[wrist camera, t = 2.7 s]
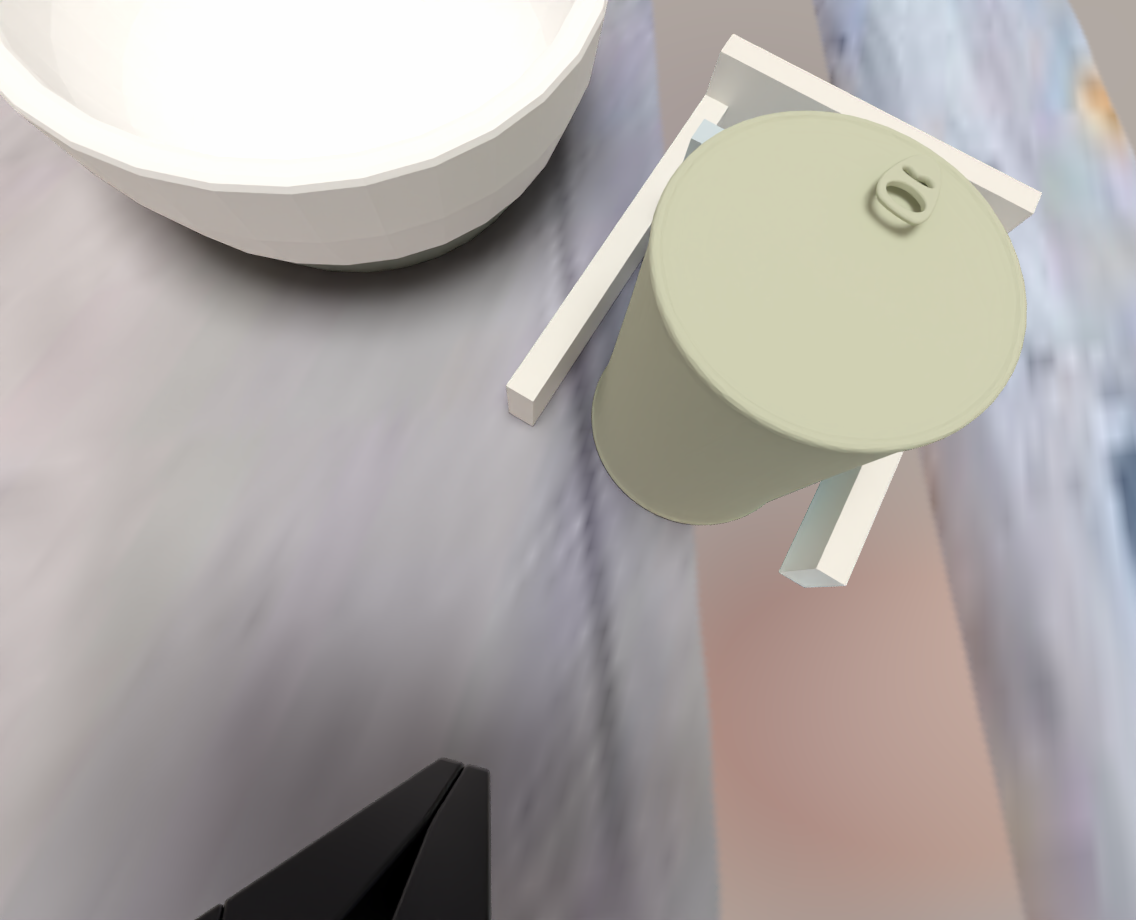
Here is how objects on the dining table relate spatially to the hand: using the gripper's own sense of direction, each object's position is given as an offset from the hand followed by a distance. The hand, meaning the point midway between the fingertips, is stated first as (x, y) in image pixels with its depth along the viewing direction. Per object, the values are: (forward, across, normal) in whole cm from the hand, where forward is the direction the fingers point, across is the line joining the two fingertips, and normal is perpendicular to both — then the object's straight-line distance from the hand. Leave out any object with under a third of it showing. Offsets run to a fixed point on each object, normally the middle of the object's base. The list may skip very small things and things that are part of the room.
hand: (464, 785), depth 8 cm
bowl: (+22, -14, +14) cm, 30 cm away
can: (+18, +4, +3) cm, 18 cm away
